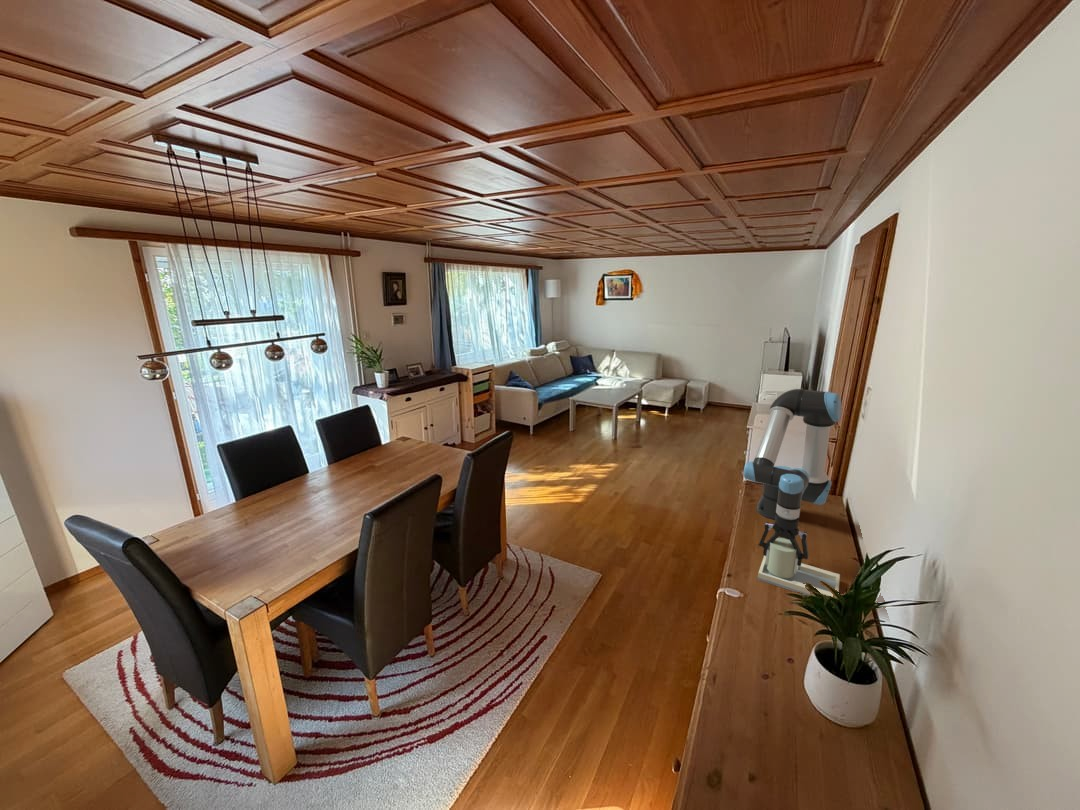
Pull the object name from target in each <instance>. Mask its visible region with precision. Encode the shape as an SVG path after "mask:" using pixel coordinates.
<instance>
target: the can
mask: <svg viewBox="0 0 1080 810" xmlns="http://www.w3.org/2000/svg"><path fill="white" fill-rule="evenodd" d="M769 547H770V549H769V558H768V565H767V569H768V571H769V572H770V573H772V574H773V575H775V576H777V577H781V578H791V577H793V576H794V566H795V559H796V555H797V554H796V551H797V550H795V549H794V547H793V545H792V543H791V542H790V539H786V538H781V537H778V538H777V539H776V540H775V541H774V542H773V543H770V546H769Z"/></svg>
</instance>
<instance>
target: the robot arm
mask: <svg viewBox="0 0 1080 810" xmlns="http://www.w3.org/2000/svg"><path fill="white" fill-rule="evenodd" d="M768 414H769V418H768V420H767V422H766V426H765V429H764V430H763V431H764V432H763V434H762V436H761V440H760V442H759V445H758V448H757V450H756V454H755V456H754V459H753V461H746V463H745V465H744V467H743V478H744V479H745V480H748V481H751V482H754V483H758V484H759V483H760V484H763V485H762V487H763V488H762V495H761V497H760V499H759V501H758V503H757V506H756V510H757V512H758V513H759V514H760V515H761V516H763V517H765V518H768V519H771V520H774V523H770V522H768V521H766V522H765V524H764V531H763V534H762V536H761V538H760V541H759V543H758V546H760V547H762V548H763V552H762V553H763V554H762V555H763V557H764V556H766V562H765V564H766V565H768V558H769V549H770V543H773V542H774V541H775V540H776V539H777V538H784V539H788V540H790V542H791V543H792V545H793V547H794V549H795V550H797V551H796V559H795V566H794V573H795V574H796V571H797V565H798V566H801V563H802V560H803V559H805V560H808V558H809V550H808V543H807V536H808V533H807V531H800V530H799V522H800V515H801V509H802V508H801V507H802V505H801V504H802V502H807V503H811V504H816V505H820V506H821V505H824V504H825V503H826V501H827V499H828V495H829V492H830V490H831V487H832V481H831V480H830V479H829V476H828V474H827V473H825V472H826V465H827V457H828V449H829V440H830V433H831V428H832V427H834V426H835V425H836V423H837V422H839V421H840V420H841V417H842V398H841V396H840V395H839V394H838V393H836V392H829V391H820V390H813V389H812V390H810V389H803V388H794V389H790V390H787V391H785V392H783V393H782V394H780V395H778V397H777V398H776V399H774V401H773V402H772V403H771V405H770V407H769V410H768ZM795 416H797V417H802V421H803V423H804V425H806V429H805V438H804V446H803V447H804V448H803V456H802V467H801V468H798V467H794V468H791V467H788V466H786V465H785V466H784V465H776V463H777V462H776V461H777V459H778V456H779V453H780V450H781V447H782V444H783V441H784V438H785V434H786V431H787V429H788V426H789V423H790V421H792V420H794V417H795ZM772 529H773V531H774V534H773V535H771V536H770V538H769V539H768V540H767V541H766V542H765V540H766V538H767V535H768V533H769V531H771V530H772ZM798 535H799V538H800V539H801V547H802V550H801V548H800V545H799V543H798V541H797V539H796V536H798Z"/></svg>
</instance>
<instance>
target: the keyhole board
mask: <svg viewBox="0 0 1080 810" xmlns="http://www.w3.org/2000/svg"><path fill="white" fill-rule="evenodd" d="M765 562H766V556H764V555H763V558H762V561H761V564H760V567H759V570H758V573H757V580H758V581H761V582H764V583H766V584H767V583H768V584H770V585H773V586H777V587H779V588H783V589H785V590H788V591H792V592H794V591H796V592H795V593H797V592H800V593H803V594H802V595H803V596H806V595H811V594H810V592H809V591H808V590H807V589H806V588H805V585H806V582H807V583H809V584H811V585H812V586H813V587H814V588H816V589H817V590H818V591H819V592H820V593H821V594H823V595H826V596H831V597H833V594H832V593H831V592H830V591H829V590H828V589H827V588H826V587H824V586H823V585H821V584H820V581H823V582H825V583H827V584H828V585H830V586H831V587H833V588H834V589H835V590H837V591H838V592H840V591H839V590H840V577H841V574H840V573H836V572H834V571H830V570H825V569H823V568H820V567H816V566H813V565H808V564H806V563H802V562H801V566H798V565H797V571H796V574H795V573H794V576H793V577H791V578H781V577H777V576H775V575H773V574H772V573H770V572H769V571H768V569H767V565H766V564H765ZM803 583H805V584H803ZM800 593H799V594H800Z"/></svg>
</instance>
